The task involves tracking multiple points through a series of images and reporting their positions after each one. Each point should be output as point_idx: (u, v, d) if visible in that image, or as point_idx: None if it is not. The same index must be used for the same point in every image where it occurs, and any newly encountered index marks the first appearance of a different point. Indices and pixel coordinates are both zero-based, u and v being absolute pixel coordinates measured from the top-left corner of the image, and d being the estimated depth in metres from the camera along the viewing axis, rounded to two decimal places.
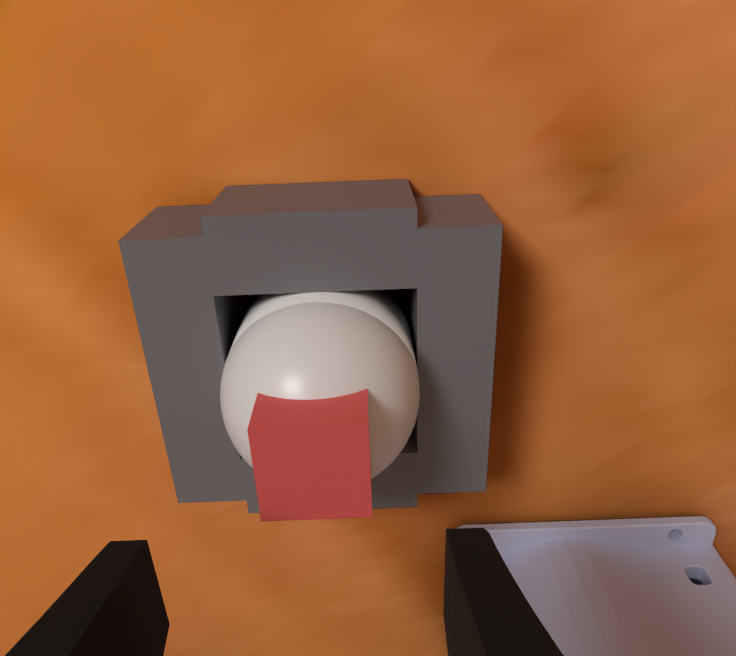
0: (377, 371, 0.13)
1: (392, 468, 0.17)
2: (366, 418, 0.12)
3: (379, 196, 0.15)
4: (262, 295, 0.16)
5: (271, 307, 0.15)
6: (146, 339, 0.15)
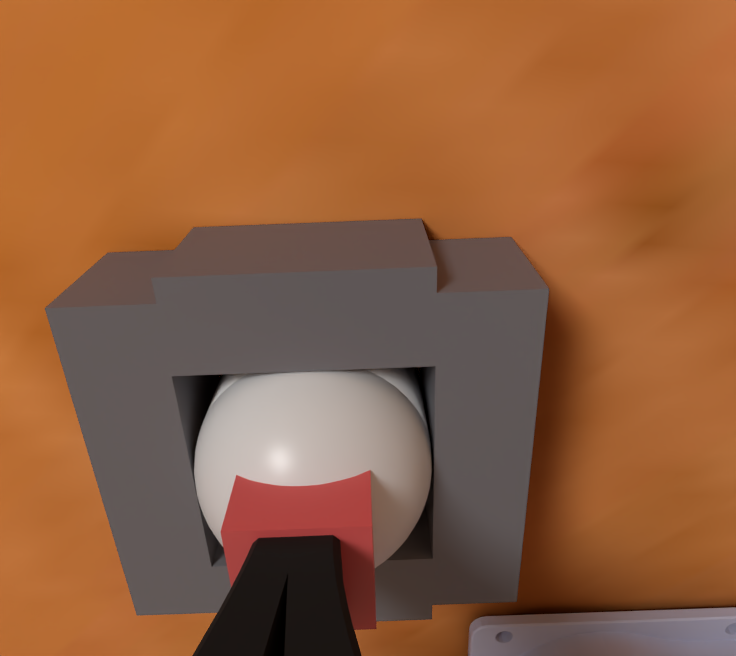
0: (382, 447, 0.11)
1: (401, 576, 0.14)
2: (369, 515, 0.10)
3: (386, 246, 0.12)
4: None
5: None
6: (87, 428, 0.12)
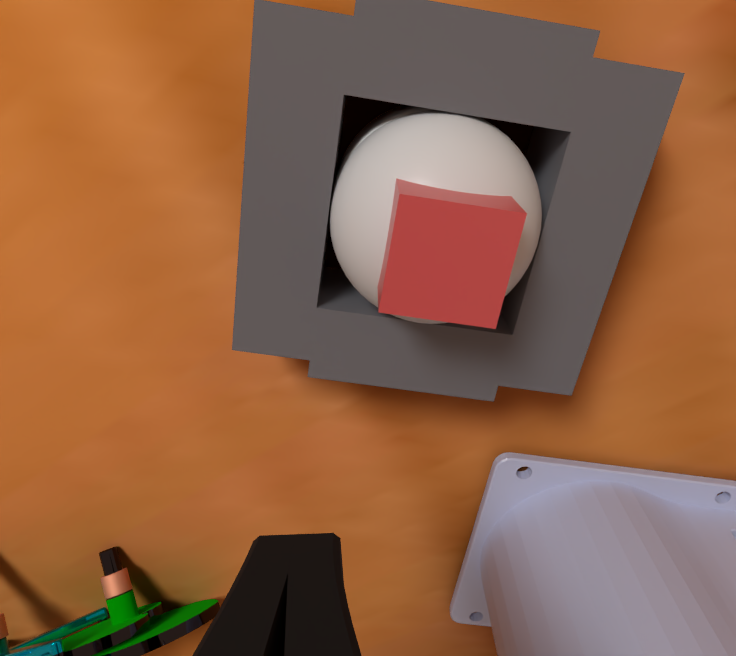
0: (520, 184, 0.13)
1: (480, 349, 0.15)
2: (522, 210, 0.11)
3: None
4: (383, 114, 0.15)
5: (405, 113, 0.14)
6: (251, 134, 0.13)
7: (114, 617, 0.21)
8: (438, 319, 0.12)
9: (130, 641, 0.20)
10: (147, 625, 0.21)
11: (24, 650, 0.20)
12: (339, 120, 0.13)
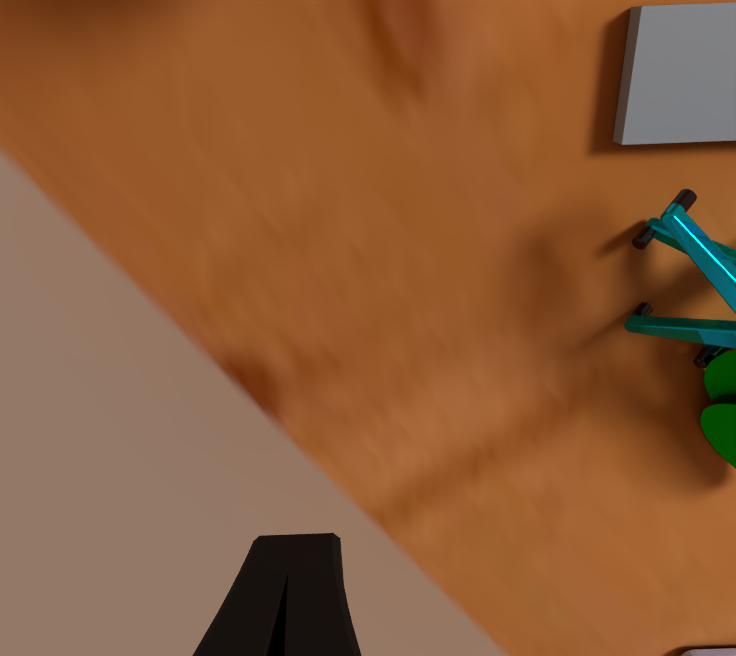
0: None
1: None
2: None
3: None
4: None
5: None
6: None
7: None
8: None
9: None
10: None
11: None
12: None
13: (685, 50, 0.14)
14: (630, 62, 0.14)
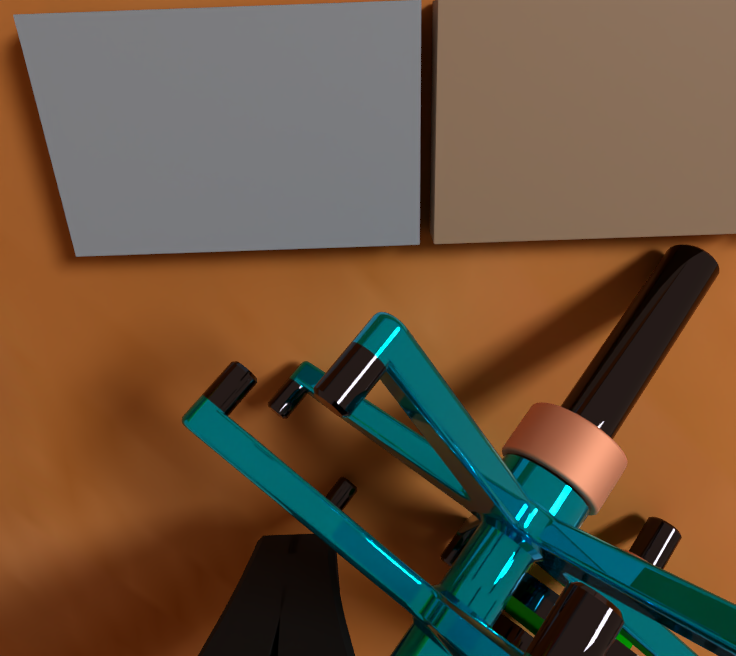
0: None
1: None
2: None
3: None
4: None
5: None
6: None
7: None
8: None
9: None
10: None
11: (675, 637, 0.08)
12: None
13: (127, 95, 0.08)
14: None
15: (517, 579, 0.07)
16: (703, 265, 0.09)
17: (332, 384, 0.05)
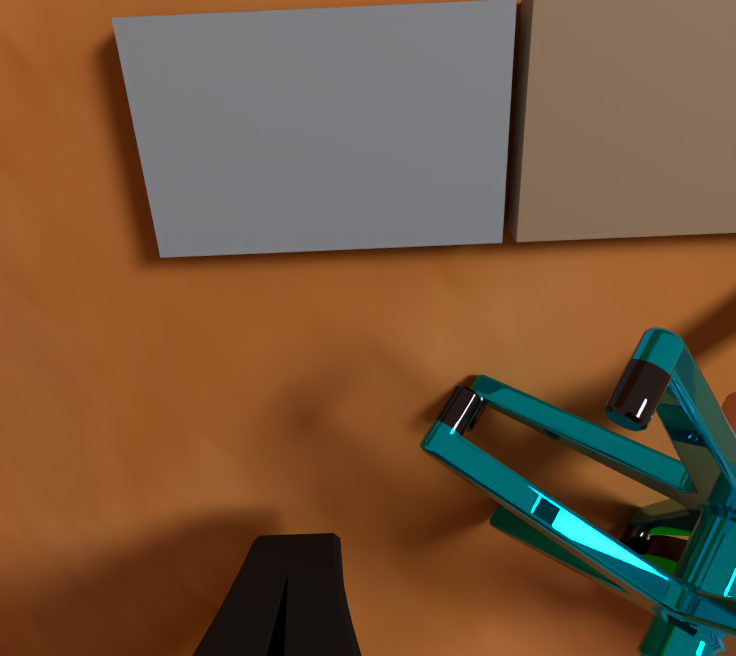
0: None
1: None
2: None
3: None
4: None
5: None
6: None
7: None
8: None
9: None
10: None
11: None
12: None
13: (220, 97, 0.08)
14: (137, 118, 0.08)
15: None
16: None
17: (629, 401, 0.05)
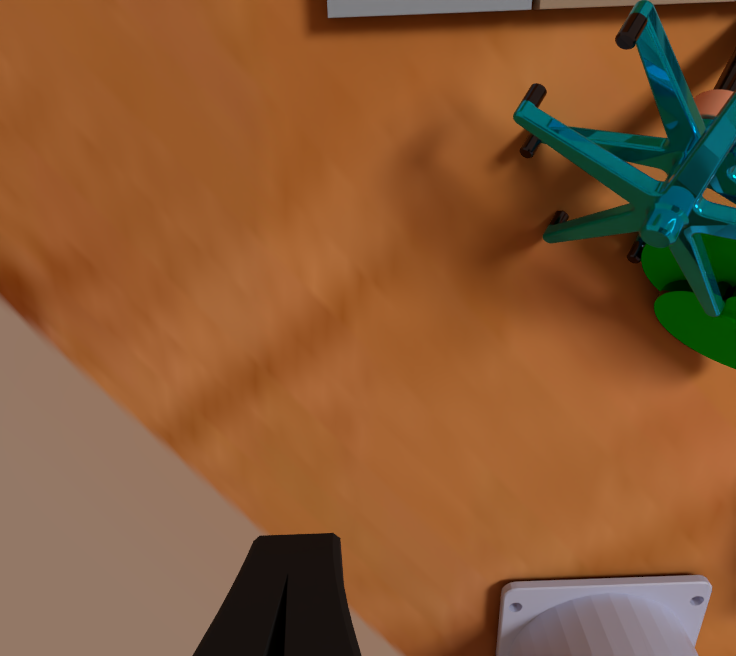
0: None
1: None
2: None
3: None
4: None
5: None
6: None
7: None
8: None
9: None
10: None
11: None
12: None
13: None
14: None
15: None
16: None
17: (627, 28, 0.11)
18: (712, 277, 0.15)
